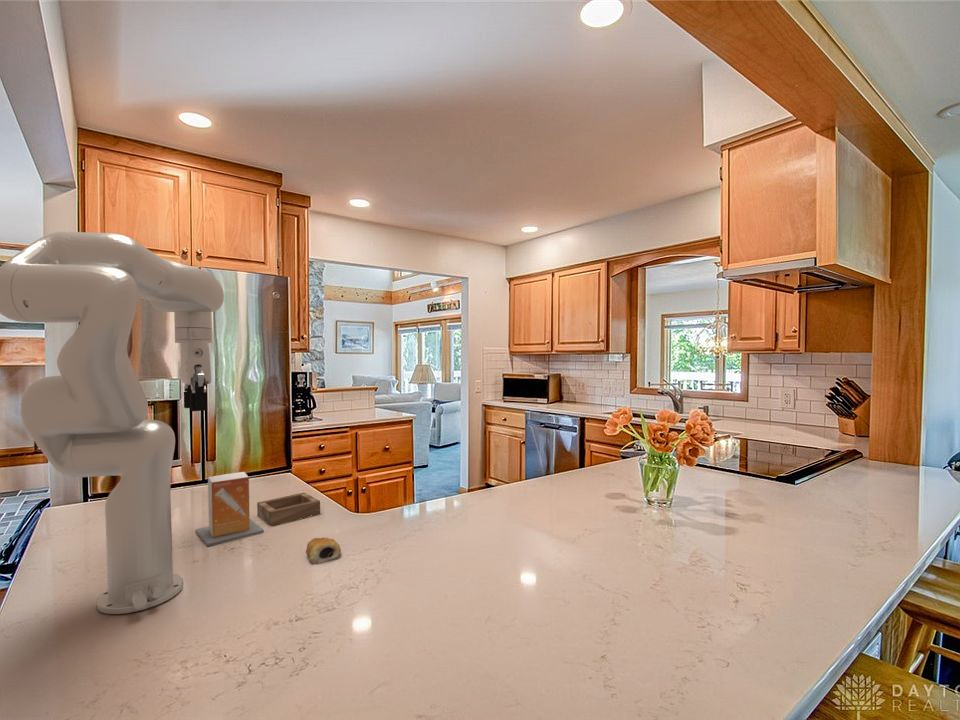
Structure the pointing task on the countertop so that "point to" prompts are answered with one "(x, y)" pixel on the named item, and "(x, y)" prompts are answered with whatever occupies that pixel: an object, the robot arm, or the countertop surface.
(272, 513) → the holder
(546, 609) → the countertop surface
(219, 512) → the small box
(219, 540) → the mat
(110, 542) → the robot arm
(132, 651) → the countertop surface
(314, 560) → the pastry
